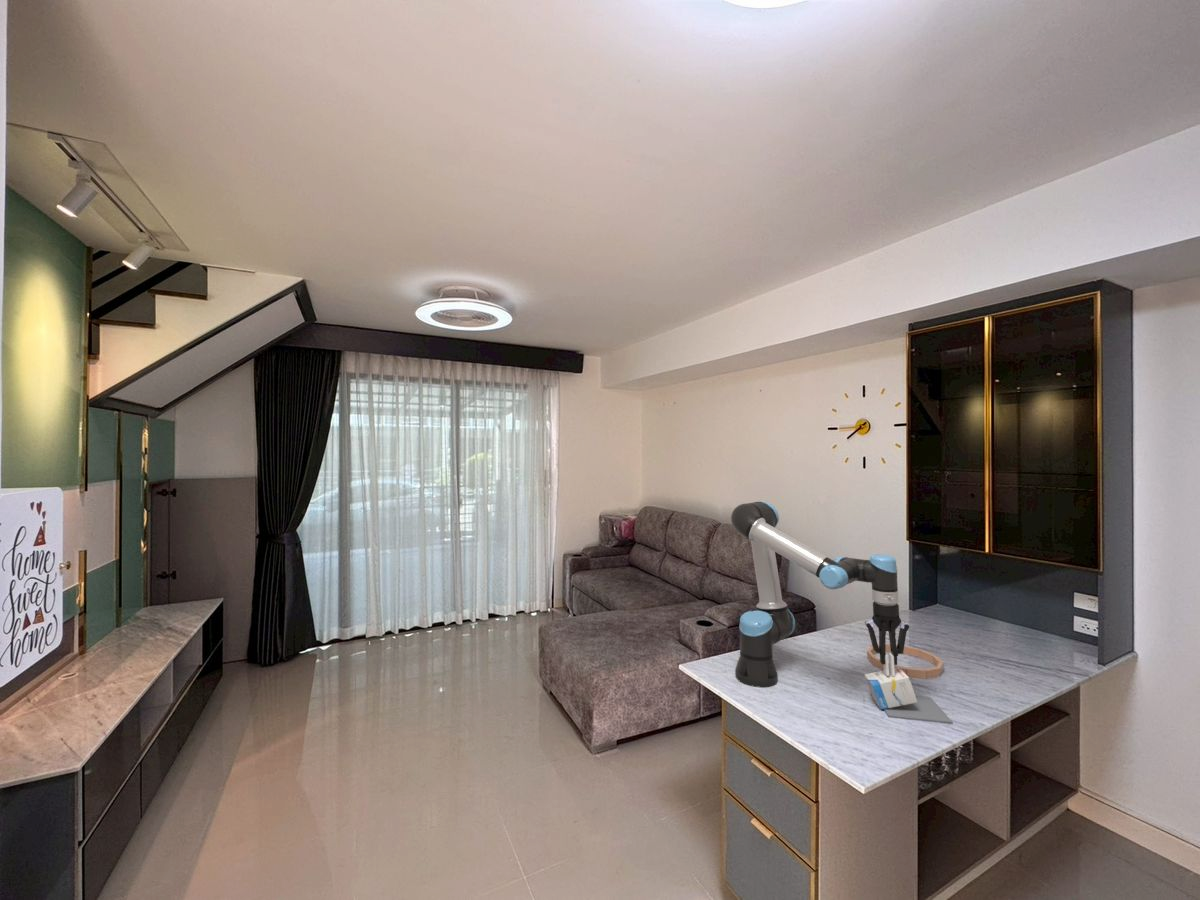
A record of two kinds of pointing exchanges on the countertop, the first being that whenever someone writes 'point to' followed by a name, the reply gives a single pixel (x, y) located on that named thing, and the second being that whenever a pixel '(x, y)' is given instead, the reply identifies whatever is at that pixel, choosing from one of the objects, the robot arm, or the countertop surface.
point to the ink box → (891, 689)
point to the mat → (919, 711)
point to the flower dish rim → (911, 671)
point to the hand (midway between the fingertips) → (889, 673)
